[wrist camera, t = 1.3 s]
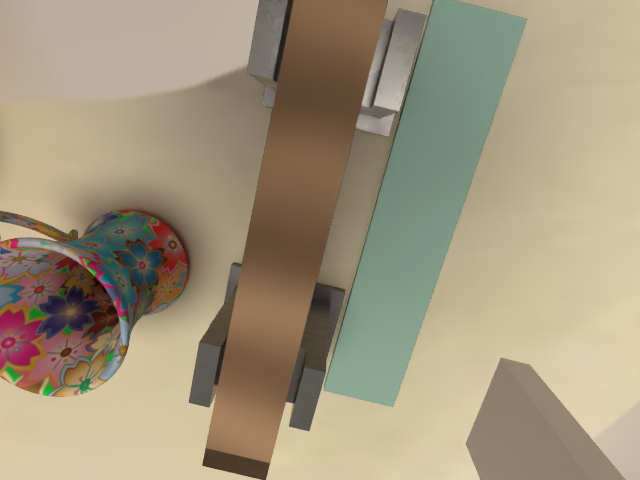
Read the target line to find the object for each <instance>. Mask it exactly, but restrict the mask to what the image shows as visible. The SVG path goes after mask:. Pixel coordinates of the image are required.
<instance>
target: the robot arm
mask: <svg viewBox="0 0 640 480" xmlns="http://www.w3.org/2000/svg"><path fill="white" fill-rule="evenodd" d="M0 240H1V236H0ZM466 446H467V448H468V450H469V453H470V455H471V458H472V460H473V463H474V465H475V467H476V470H477V472H478V475H479V477H480V480H625V478H624V477H623V476H622V475H621V474H620V472H619V471H618V470H617V469H616V468H615V466H614V465H613V464H612V463H611V462H610V461H609V459H608V458H607V457H606V456H605V454H604V453H603V452H602V451H601V450H600V448H599V447H598V446H597V445H596V444H595V442H593V440H592V439H591V438H590V436H589V435H588V434H587V433H586V432H585V430H584V429H583V428H582V427H581V426H580V424H579V423H578V422H577V421H576V420H575V418H574V417H573V416H572V415H571V414H570V412H569V411H568V410H567V409H566V408H565V406H564V405H563V404H562V403H561V402H560V400H559V399H558V398H557V397H556V396H555V394H554V393H553V392H552V391H551V390H550V388H549V387H548V386H547V385H546V384H545V382H544V381H543V380H542V379H541V378H540V376H539V375H538V374H537V373H536V372H535V370H534V369H533V368H532V367H531V366H530V365H529V364H525V363H521V362H517V361H512V360H508V359H504V358H501V359H500V361H499V364H498V366H497V369H496V371H495V374H494V376H493V379H492V381H491V383H490V386H489V388H488V391H487V393H486V396H485V398H484V400H483V403H482V405H481V408H480V410H479V413H478V415H477V417H476V420H475V422H474V425H473V427H472V430H471V432H470V435H469V437H468V439H467V442H466Z"/></svg>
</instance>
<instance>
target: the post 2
mask: <svg viewBox="0 0 640 480" xmlns="http://www.w3.org/2000/svg"><path fill="white" fill-rule="evenodd" d="M241 266H242V265H241V264H237V263H233V264H232V265H231V270H230V275H229V280H228V286H227V291H226V296H225V302H224V305H223V306H222V308H221V309H220V311H219V312H218V314H217V315H216V317H215V318H214V320H213V321H212V323H211V324H210V327H209V329H208V330H207V331H206V333H205V334H204V336H203V337H202V339H201V340H200V342H199V347H198V353H197V358H196V364H195V370H194V375H193V381H192V387H191V393H190V398H189V403H192V404H196V405H201V406H205V407H210V405H211V403H212V401H213V398H214V396H215V394H216V392H217V388H218V383H219V378H220V373H221V368H222V363H223V358H224V353H225V348H226V342H227V337H228V332H229V327H230V322H231V317H232V312H233V307H234V302H235V297H236V292H237V287H238V281H239V276H240V271H241ZM344 295H345V290H343V289H339V288H335V287H331V286H327V285H323V284H319V283H316V285H315V289H314V293H313V297H312V301H311V305H310V309H309V312H308V316H307V320H306V324H305V328H304V332H303V336H302V340H301V344H300V348H299V352H298V356H297V359H296V363H295V367H294V371H293V375H292V379H291V383H290V387H289V391H288V395H287V399H286V402H289V403H293V406H292V412H291V417H290V423H289V427H293V428H298V429H302V430H306V431H309V430H310V427H311V423H312V420H313V416H314V413H315V409H316V405H317V402H318V398H319V395H320V391H321V388H322V384H323V381H324V377H325V373H326V360H327V356H328V352H329V348H330V345H331V341H332V338H333V334H334V330H335V327H336V323H337V320H338V316H339V312H340V309H341V305H342V302H343V298H344Z"/></svg>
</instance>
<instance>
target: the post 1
mask: <svg viewBox="0 0 640 480" xmlns="http://www.w3.org/2000/svg"><path fill="white" fill-rule="evenodd" d="M293 2H294V0H259V5H258V11H257V16H256V22H255V28H254V34H253V40H252V45H251V51H250V56H249V62H248V68H247V74H249V75H251V76H252V77H254V78H255V79H256V80H258V81H259V82H261V83H262V84H264V85H265V90H264V95H263V101H262V105H263V106H267V107H271V108H273V104H274V99H275V94H276V88H277V83H278V78H279V73H280V68H281V63H282V58H283V53H284V48H285V43H286V38H287V33H288V27H289V22H290V17H291V12H292V7H293ZM425 18H426V15H423V14H419V13H415V12H411V11H407V10H403V9H398V11H397V14H396V16H395V18H394V20H393V21H390V20H386V19H383V22H382V26H381V30H380V34H379V38H378V42H377V46H376V50H375V54H374V58H373V62H372V66H371V69H370V73H369V77H368V81H367V85H366V89H365V93H364V97H363V101H362V105H361V109H360V113H359V116H358V120H357V124H356V128H355V129H359V130H363V131H367V132H371V133H375V134H379V135H383V136H387V137H389V133H390V130H391V126H392V122H393V119H394V115H395V113H396V112H399V110H400V107H401V103H402V100H403V96H404V93H405V89H406V85H407V82H408V78H409V75H410V71H411V68H412V64H413V61H414V57H415V53H416V50H417V46H418V43H419V39H420V36H421V32H422V29H423V25H424V22H425Z"/></svg>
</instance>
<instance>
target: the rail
mask: <svg viewBox="0 0 640 480" xmlns="http://www.w3.org/2000/svg"><path fill="white" fill-rule="evenodd" d="M387 3H388V0H294V2H293V7H292V12H291V17H290V22H289V27H288V33H287V38H286V43H285V48H284V53H283V58H282V63H281V68H280V73H279V78H278V83H277V88H276V94H275V99H274V104H273V109H272V114H271V119H270V124H269V129H268V134H267V139H266V144H265V149H264V154H263V160H262V165H261V170H260V175H259V180H258V185H257V190H256V195H255V200H254V205H253V210H252V215H251V221H250V226H249V231H248V236H247V241H246V246H245V251H244V256H243V261H242V266H241V271H240V276H239V281H238V287H237V292H236V297H235V302H234V307H233V312H232V317H231V322H230V327H229V332H228V337H227V342H226V348H225V353H224V358H223V363H222V368H221V373H220V378H219V383H218V388H217V393H216V398H215V403H214V409H213V414H212V419H211V424H210V429H209V434H208V439H207V444H206V449H205V454H204V459H203V464H202V466H206V467H210V468H214V469H218V470H223V471H227V472H231V473H235V474H240V475H244V476H248V477H253V478H257V479H261V480H266V477H267V473H268V469H269V465H270V461H271V457H272V454H273V450H274V446H275V442H276V438H277V434H278V430H279V426H280V422H281V418H282V414H283V410H284V407H285V403H286V399H287V395H288V391H289V387H290V383H291V379H292V375H293V371H294V367H295V363H296V359H297V356H298V352H299V348H300V344H301V340H302V336H303V332H304V328H305V324H306V320H307V316H308V312H309V309H310V305H311V301H312V297H313V293H314V289H315V285H316V281H317V277H318V273H319V269H320V265H321V261H322V258H323V254H324V250H325V246H326V242H327V238H328V234H329V230H330V226H331V222H332V218H333V214H334V211H335V207H336V203H337V199H338V195H339V191H340V187H341V183H342V179H343V175H344V171H345V167H346V164H347V160H348V156H349V152H350V148H351V144H352V140H353V136H354V132H355V128H356V124H357V120H358V116H359V113H360V109H361V105H362V101H363V97H364V93H365V89H366V85H367V81H368V77H369V73H370V69H371V66H372V62H373V58H374V54H375V50H376V46H377V42H378V38H379V34H380V30H381V26H382V22H383V19H384V15H385V11H386V7H387Z"/></svg>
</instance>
